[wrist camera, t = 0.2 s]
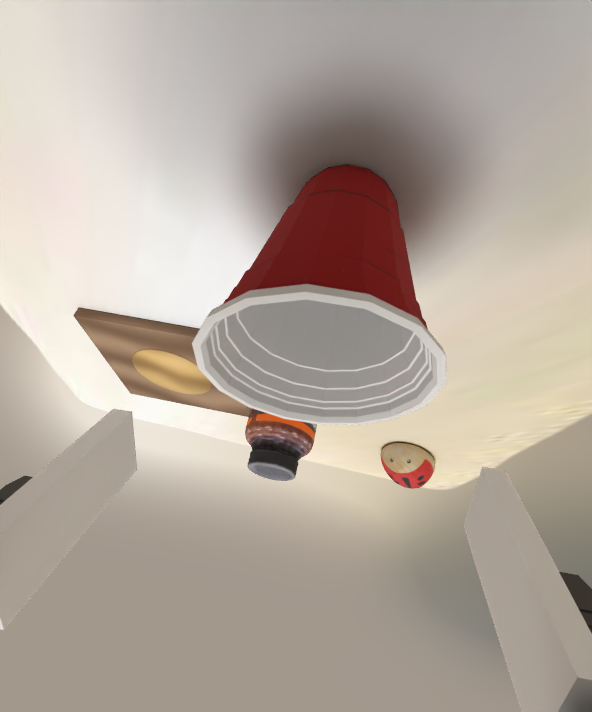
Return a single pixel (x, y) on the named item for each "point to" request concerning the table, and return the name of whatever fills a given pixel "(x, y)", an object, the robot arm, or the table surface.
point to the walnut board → (155, 360)
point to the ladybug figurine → (407, 464)
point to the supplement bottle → (277, 444)
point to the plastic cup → (327, 313)
